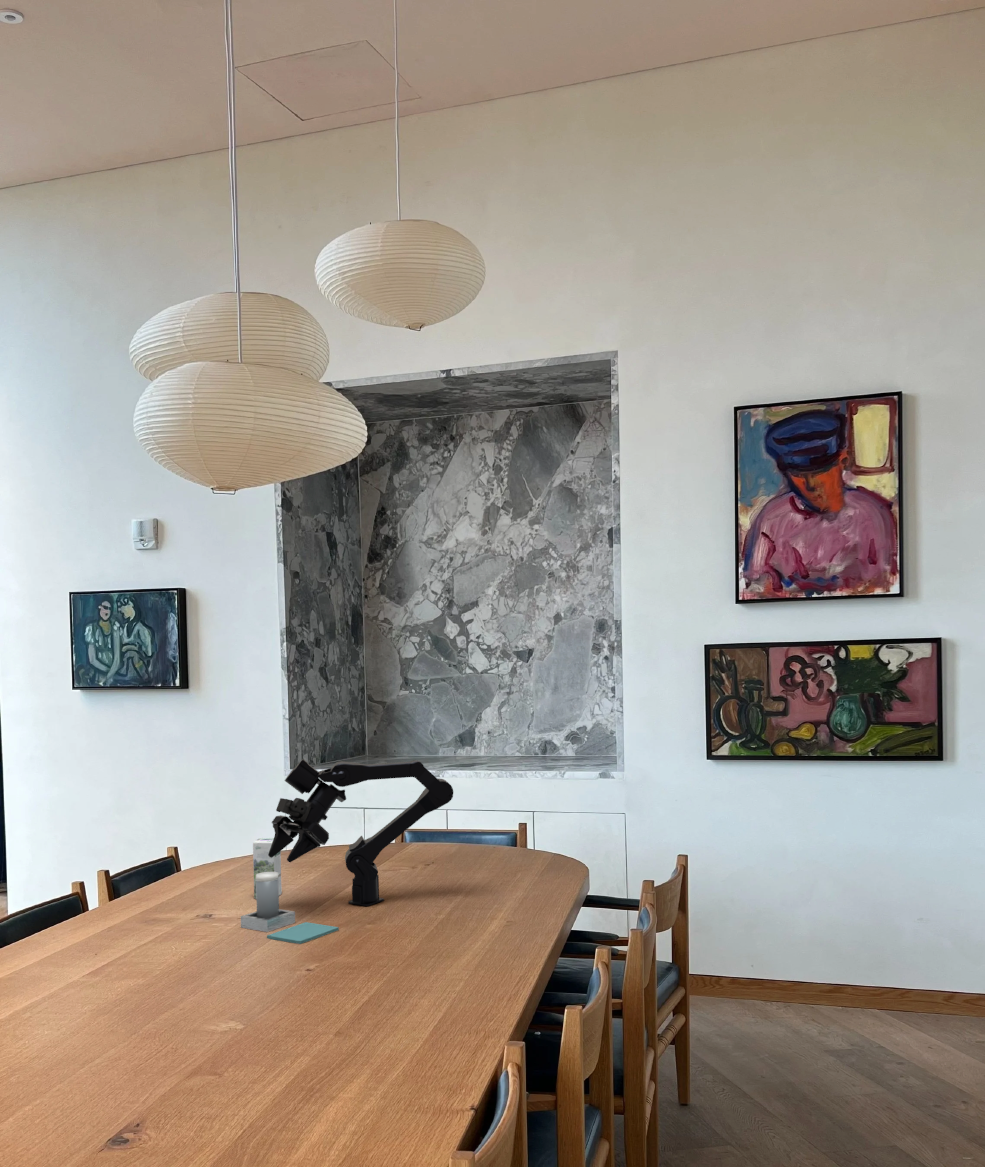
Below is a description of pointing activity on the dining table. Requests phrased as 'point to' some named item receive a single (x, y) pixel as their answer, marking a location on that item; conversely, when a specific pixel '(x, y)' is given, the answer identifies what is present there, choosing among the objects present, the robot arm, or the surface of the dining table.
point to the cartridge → (267, 894)
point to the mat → (302, 932)
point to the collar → (268, 921)
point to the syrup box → (265, 860)
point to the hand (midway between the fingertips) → (278, 858)
